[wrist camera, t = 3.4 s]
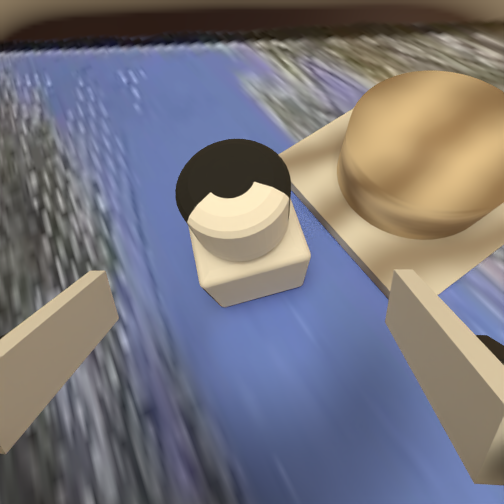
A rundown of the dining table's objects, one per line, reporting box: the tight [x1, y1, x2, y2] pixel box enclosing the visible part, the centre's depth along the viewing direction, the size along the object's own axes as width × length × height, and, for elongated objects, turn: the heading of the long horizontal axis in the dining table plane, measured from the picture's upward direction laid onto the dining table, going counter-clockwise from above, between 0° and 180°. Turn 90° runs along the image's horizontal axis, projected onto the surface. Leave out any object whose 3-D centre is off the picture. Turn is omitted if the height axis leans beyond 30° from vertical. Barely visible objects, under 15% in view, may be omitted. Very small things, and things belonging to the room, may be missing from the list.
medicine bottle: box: [176, 139, 311, 307], centre depth 20 cm, size 7×7×12 cm
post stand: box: [279, 71, 504, 299], centre depth 24 cm, size 18×18×6 cm
